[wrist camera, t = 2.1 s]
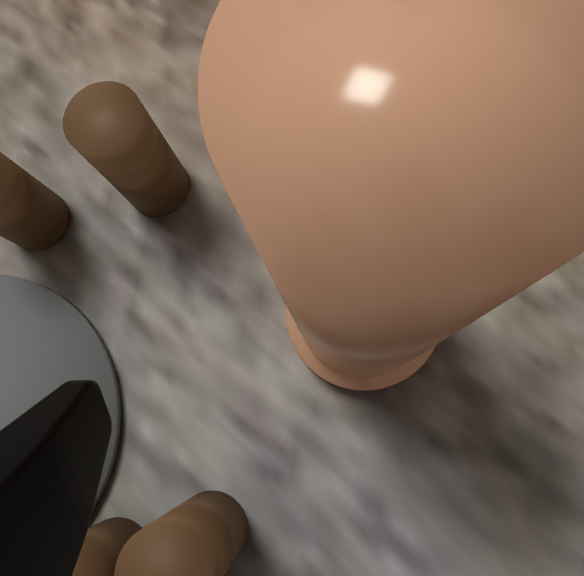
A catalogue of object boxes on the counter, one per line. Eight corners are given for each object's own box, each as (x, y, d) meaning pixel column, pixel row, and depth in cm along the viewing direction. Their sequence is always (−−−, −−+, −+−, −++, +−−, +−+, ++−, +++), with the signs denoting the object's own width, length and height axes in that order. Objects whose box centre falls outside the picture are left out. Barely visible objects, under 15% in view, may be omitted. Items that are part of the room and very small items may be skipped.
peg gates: (315, 530, 17) (305, 579, 12) (94, 616, 17) (-2, 699, 12) (174, 138, 21) (124, 56, 16) (-9, 209, 21) (-115, 149, 16)
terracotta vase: (462, 358, 18) (847, 208, 4) (319, 413, 18) (263, 436, 4) (400, 224, 19) (553, -218, 6) (267, 276, 19) (96, -40, 6)
